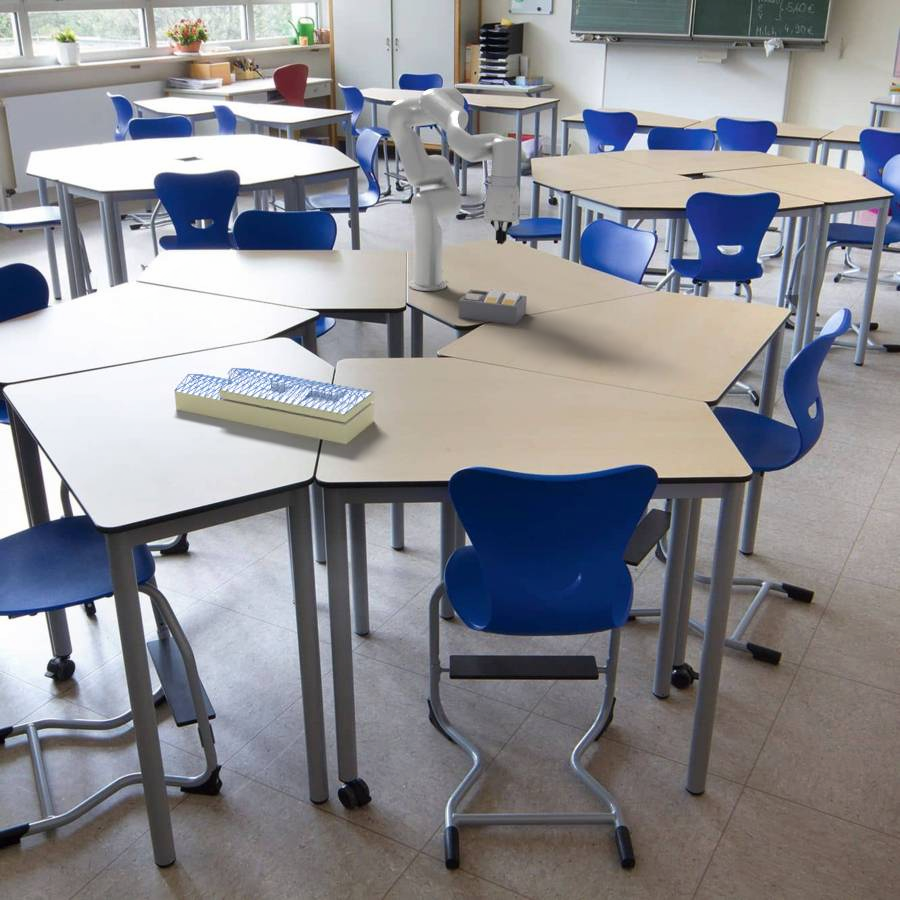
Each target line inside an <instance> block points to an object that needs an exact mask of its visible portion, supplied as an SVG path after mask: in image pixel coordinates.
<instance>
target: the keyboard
mask: <svg viewBox="0 0 900 900" xmlns="http://www.w3.org/2000/svg"><path fill="white" fill-rule="evenodd" d="M235 374H236V375H235ZM227 375H228V378H221V377H220V376H219V377H218V376H217V377H216V376H213V375H212V376H210V374H209V375H208V374H203V373H188V374H187V375H186V376H185V377H184V378H183V380H182V381H181V382H180V383H179V384H178V385H177V386H176V387H175V389H174V391H173V392H174V398H175V399H174V400H175V409H176V410H177V411H182V412H186V413H187V412H188V413H192V414H197V415H201V416H202V415H203V416H207V417H211V418H216V419H221V420H226V421H231V422H237V423H239V424H246V425H249V426H255V427H260V428H265V429H270V430H274V431H279V432H284V433H290V434H293V435H299V436H304V437H307V438H308V437H309V438H314V439H319V440H323V441H328V442H333V443H338V444H343V445H347V444H348V443H349V442H351V441H352V440H353V439H354V438H355V437H357V436H358V435H359V434H361V433H362V431H364V430H365V429H366V428H367V427H369V426H370V425H371V424H372V423H374V421H375V416H374V415H375V414H374V413H375V408H374V407H375V405H374V393H375V391H369V390H367V389H365V390H364V389H363V390H362V389H361V388H355V387H348V386H342V385H336V384H335V383H334V384H333V383H332V384H330V382H323V381H317V380H310V379H305V378H299V377H297V376H295V377H294V376H291V375H285V374H280V373H273V372H267V371H261V370H255V369H252V368H241V367H239V368H237V367H236V368H235V367H234V368H233V367H231V368H230V369H229V371H228V372H227ZM188 377H190V379H189V380H188ZM231 377H232V378H231ZM187 380H188V382H187ZM184 381H185V382H184ZM183 382H184V383H183ZM181 385H182V386H181Z"/></svg>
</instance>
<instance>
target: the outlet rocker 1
mask: <svg viewBox="0 0 900 900" xmlns="http://www.w3.org/2000/svg"><path fill="white" fill-rule="evenodd" d="M467 293H468V292H467ZM465 294H466V293H465ZM484 296H485V295H482V294H474V293H473V294H472V293H468V294H466V299H470V300H478V301H479V300H481V299H482V298H483V297H484Z"/></svg>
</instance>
